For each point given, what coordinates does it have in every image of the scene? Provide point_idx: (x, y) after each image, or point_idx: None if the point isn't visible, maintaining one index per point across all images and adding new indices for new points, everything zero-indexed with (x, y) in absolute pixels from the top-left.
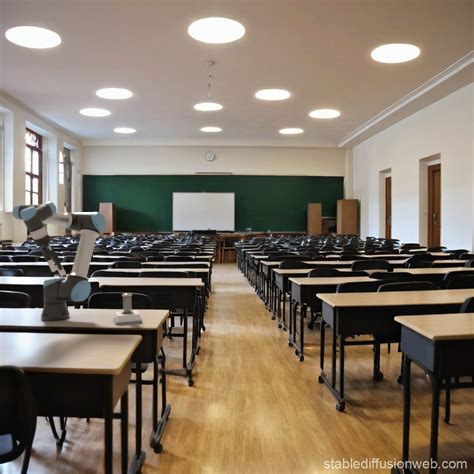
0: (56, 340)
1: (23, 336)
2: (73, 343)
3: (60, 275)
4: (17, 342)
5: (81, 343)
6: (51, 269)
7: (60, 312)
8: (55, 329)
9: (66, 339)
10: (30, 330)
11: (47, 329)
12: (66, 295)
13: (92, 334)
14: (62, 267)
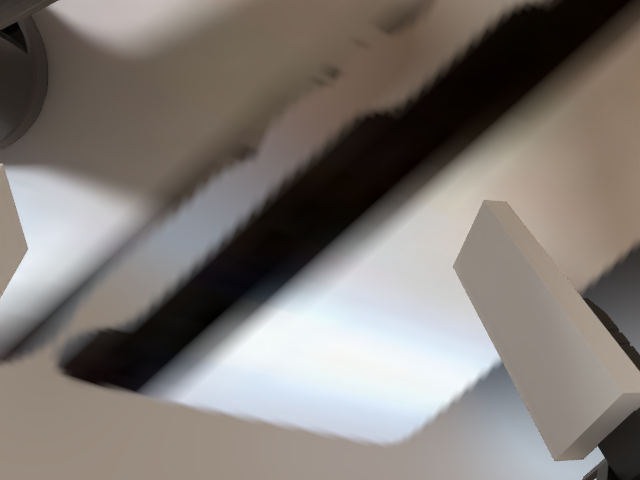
0: None
1: (315, 358)
2: (607, 245)
3: (463, 275)
4: (402, 403)
5: (635, 221)
6: (3, 289)
7: (11, 53)
8: (290, 197)
9: None
10: (212, 298)
11: (256, 227)
12: (40, 9)
13: (543, 107)
14: (574, 299)
